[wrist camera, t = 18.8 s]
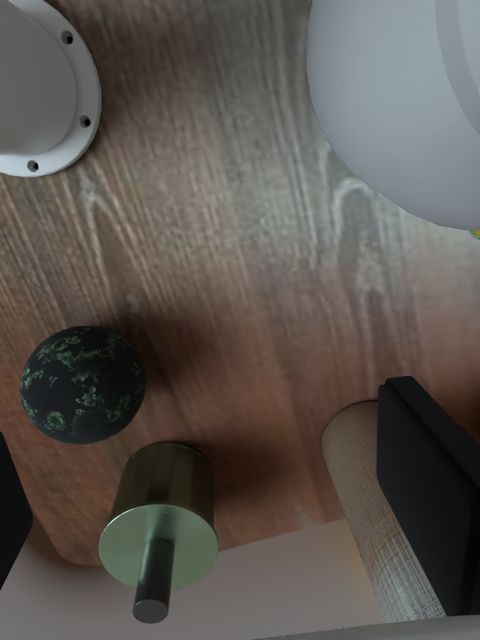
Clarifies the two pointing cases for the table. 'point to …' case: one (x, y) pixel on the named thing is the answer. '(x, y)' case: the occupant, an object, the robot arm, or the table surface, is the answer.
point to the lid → (157, 552)
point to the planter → (375, 517)
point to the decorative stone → (83, 385)
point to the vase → (402, 99)
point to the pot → (167, 478)
